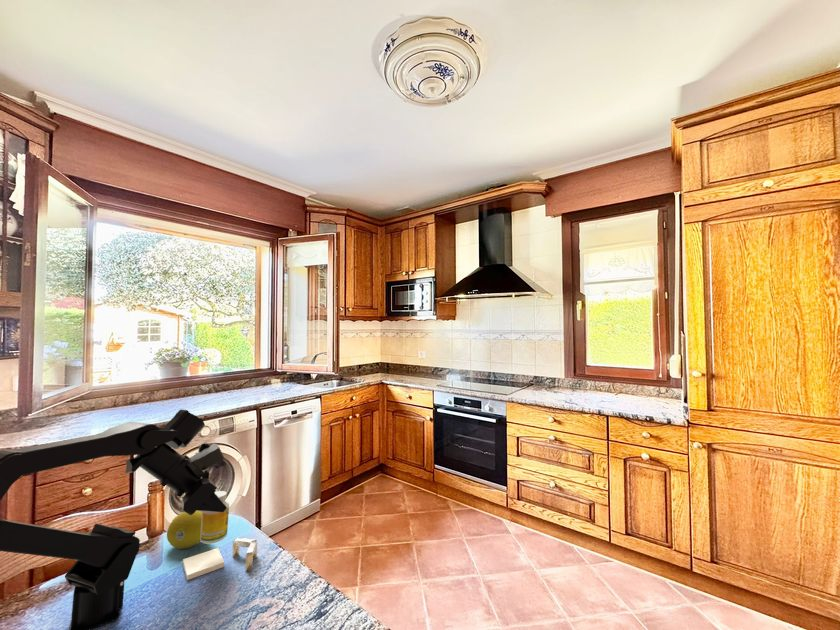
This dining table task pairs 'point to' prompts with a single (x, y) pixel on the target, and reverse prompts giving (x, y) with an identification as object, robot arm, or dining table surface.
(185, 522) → the lemon
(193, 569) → the cream coaster
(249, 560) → the bent steel bracket
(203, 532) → the supplement bottle
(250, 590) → the dining table surface
